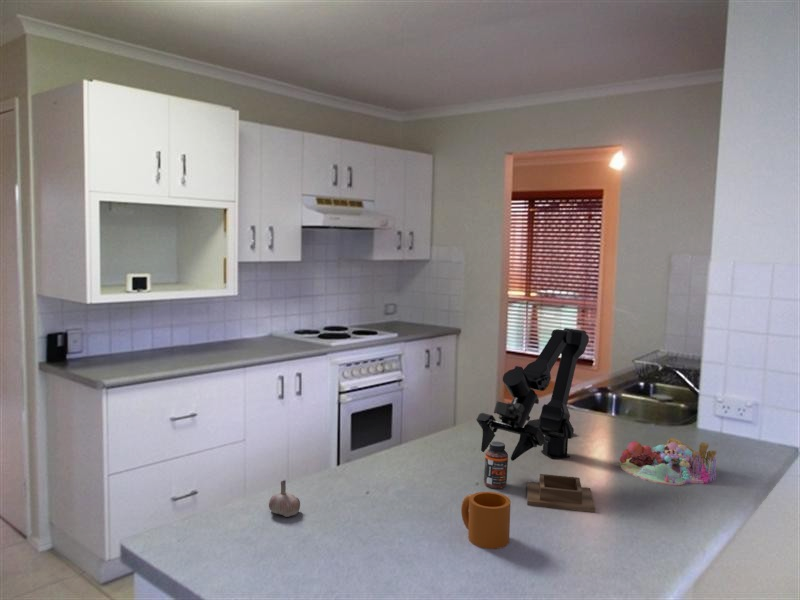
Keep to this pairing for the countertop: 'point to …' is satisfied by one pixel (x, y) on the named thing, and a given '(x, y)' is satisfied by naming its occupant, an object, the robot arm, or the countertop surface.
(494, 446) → the supplement bottle
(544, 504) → the bottle stand
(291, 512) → the garlic bulb
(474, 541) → the mug
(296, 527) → the countertop surface
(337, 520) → the countertop surface
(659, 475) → the coral reef model
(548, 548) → the countertop surface
